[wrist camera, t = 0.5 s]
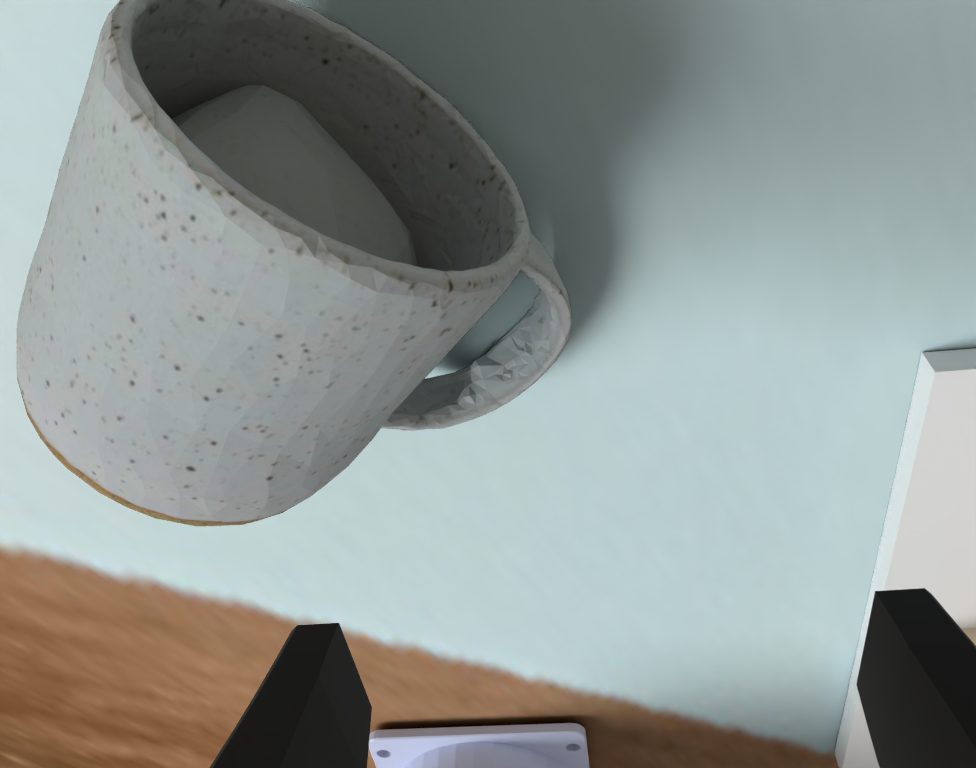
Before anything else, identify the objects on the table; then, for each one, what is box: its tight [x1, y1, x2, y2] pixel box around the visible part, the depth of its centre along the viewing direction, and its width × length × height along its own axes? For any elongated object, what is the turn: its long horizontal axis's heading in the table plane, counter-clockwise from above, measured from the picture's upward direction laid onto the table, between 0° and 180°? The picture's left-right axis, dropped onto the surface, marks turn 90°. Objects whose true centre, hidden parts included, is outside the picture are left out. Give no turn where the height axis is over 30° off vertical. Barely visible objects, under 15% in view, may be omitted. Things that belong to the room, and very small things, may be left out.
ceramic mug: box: [17, 0, 572, 526], centre depth 16 cm, size 10×8×7 cm
